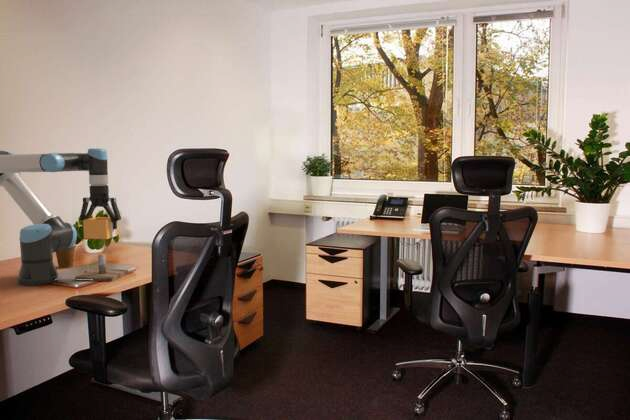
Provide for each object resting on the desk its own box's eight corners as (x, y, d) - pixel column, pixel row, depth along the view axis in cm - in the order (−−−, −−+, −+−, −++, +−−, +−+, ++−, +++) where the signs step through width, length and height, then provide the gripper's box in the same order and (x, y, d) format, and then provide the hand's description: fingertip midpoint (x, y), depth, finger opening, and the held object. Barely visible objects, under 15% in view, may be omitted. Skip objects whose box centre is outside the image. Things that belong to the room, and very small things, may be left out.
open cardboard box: (106, 239, 227) (106, 220, 226) (84, 238, 228) (83, 219, 227) (117, 235, 237) (116, 217, 236) (95, 235, 238) (94, 217, 237)
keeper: (111, 281, 225) (111, 258, 224) (75, 280, 227) (74, 258, 226) (128, 272, 241) (127, 251, 240) (94, 272, 243) (93, 251, 242)
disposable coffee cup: (68, 269, 249) (67, 243, 248) (50, 268, 251) (48, 243, 250) (81, 265, 258) (80, 240, 257) (63, 264, 260) (62, 239, 259)
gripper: (128, 184, 233) (130, 235, 235) (78, 184, 235) (80, 235, 237) (120, 185, 225) (122, 238, 228) (68, 185, 227) (71, 237, 230)
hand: (101, 236), depth 232 cm, fingers closed on open cardboard box, 10 cm apart
